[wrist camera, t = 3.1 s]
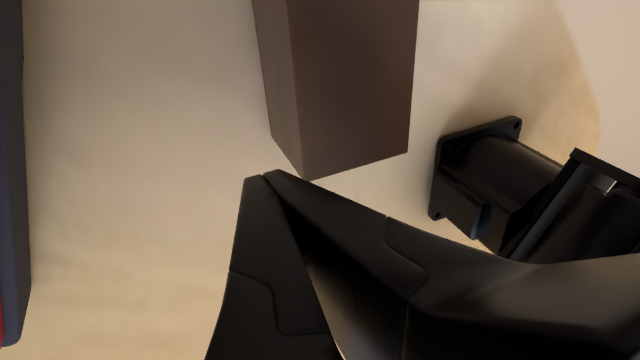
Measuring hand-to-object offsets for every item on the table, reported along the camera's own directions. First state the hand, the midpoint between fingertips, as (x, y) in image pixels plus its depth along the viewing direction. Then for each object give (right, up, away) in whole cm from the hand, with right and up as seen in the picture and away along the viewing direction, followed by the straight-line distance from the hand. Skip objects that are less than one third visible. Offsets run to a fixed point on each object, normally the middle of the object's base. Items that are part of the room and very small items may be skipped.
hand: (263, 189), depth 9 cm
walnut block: (+1, +6, +9) cm, 11 cm away
